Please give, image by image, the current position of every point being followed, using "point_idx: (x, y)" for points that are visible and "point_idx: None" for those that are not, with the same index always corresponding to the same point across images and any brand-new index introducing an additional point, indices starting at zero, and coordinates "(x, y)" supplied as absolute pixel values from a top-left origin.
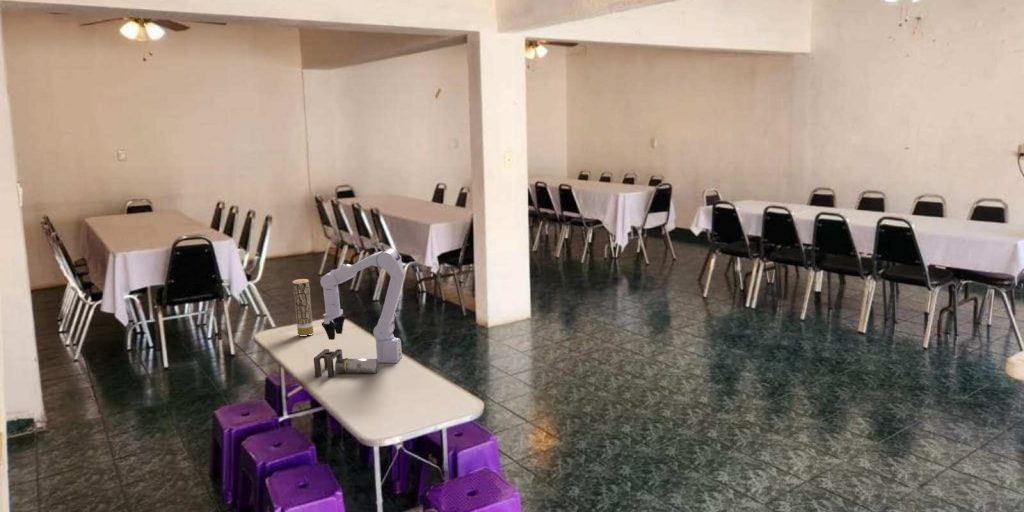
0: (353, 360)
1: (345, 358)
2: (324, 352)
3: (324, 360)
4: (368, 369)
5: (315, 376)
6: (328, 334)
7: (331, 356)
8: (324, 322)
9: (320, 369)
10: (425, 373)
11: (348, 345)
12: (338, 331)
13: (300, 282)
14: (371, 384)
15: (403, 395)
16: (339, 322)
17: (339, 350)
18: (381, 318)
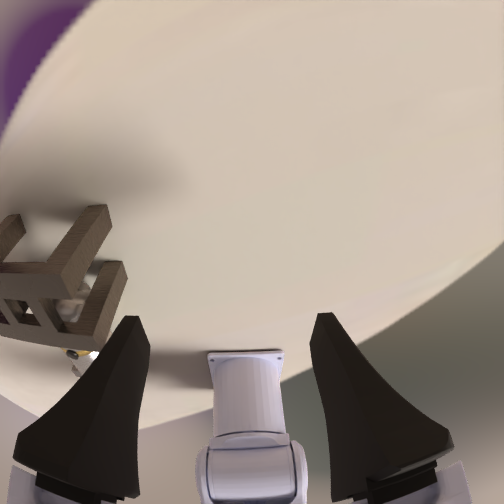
0: (77, 368)
1: (69, 352)
2: (22, 292)
3: (68, 233)
4: None
5: (6, 218)
6: (108, 360)
7: (12, 333)
8: (13, 479)
9: (7, 251)
10: (161, 421)
11: (461, 189)
12: (317, 347)
13: None
14: (59, 366)
15: (57, 400)
16: (336, 438)
17: (83, 347)
18: None
